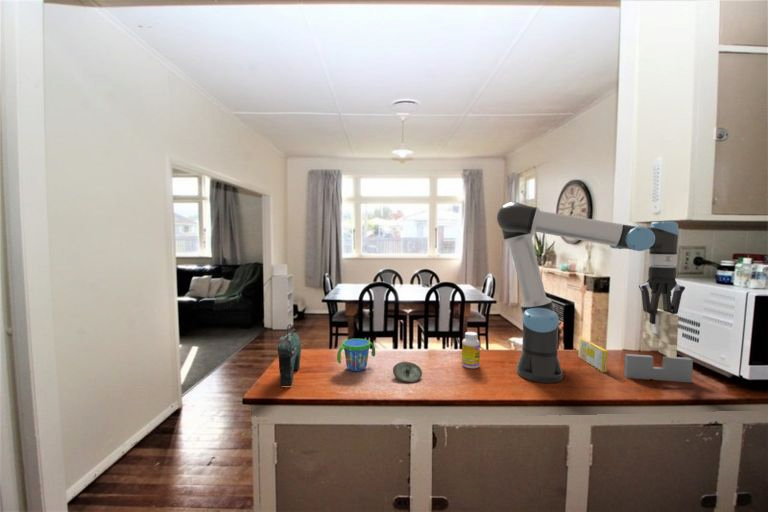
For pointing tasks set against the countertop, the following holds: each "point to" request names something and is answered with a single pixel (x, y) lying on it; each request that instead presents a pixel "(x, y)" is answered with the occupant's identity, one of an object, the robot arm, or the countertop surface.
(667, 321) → the beige brown notched block
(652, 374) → the grey notched base plate
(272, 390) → the countertop surface
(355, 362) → the snack cup
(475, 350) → the supplement bottle
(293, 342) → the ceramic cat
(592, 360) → the candy box
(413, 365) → the lid
